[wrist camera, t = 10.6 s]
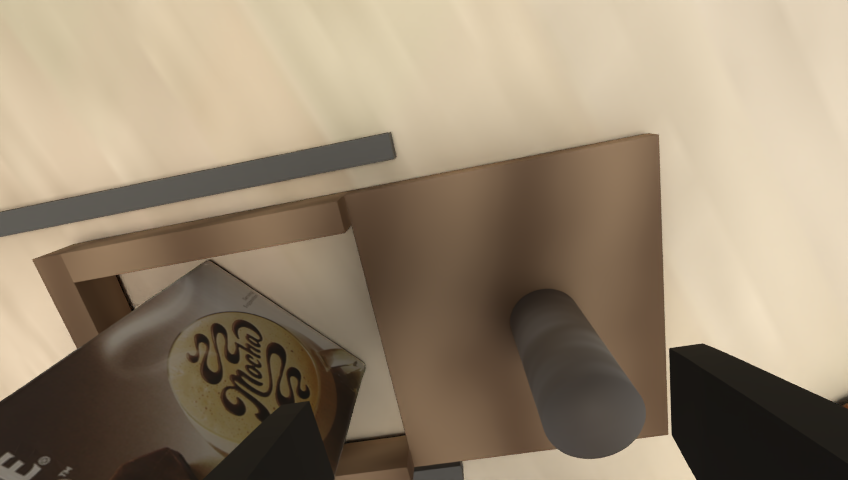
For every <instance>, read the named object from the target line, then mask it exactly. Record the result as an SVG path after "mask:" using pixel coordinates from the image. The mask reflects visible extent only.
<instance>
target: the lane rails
mask: <svg viewBox="0 0 848 480" xmlns="http://www.w3.org/2000/svg"><path fill="white" fill-rule="evenodd" d="M395 157H396V153H395V149H394V144H393V139H392V135H391V132H389V133H384V134H379V135H374V136H369V137H364V138H359V139H355V140H350V141H345V142H340V143H335V144H330V145H325V146H320V147H315V148H311V149H306V150H301V151H296V152H291V153H286V154H281V155H276V156H271V157H266V158H262V159H257V160H252V161H247V162H242V163H237V164H232V165H227V166H222V167H218V168H213V169H208V170H203V171H198V172H193V173H188V174H183V175H178V176H174V177H169V178H164V179H159V180H154V181H149V182H144V183H139V184H134V185H130V186H125V187H120V188H115V189H110V190H105V191H100V192H95V193H90V194H86V195H81V196H76V197H71V198H66V199H61V200H56V201H51V202H46V203H41V204H37V205H32V206H27V207H22V208H17V209H12V210H7V211H2V212H0V237H2V236H7V235H12V234H17V233H22V232H27V231H33V230H38V229H43V228H48V227H53V226H58V225H63V224H68V223H73V222H78V221H83V220H88V219H93V218H98V217H103V216H108V215H113V214H118V213H123V212H128V211H133V210H138V209H144V208H149V207H154V206H159V205H164V204H169V203H174V202H179V201H184V200H189V199H194V198H199V197H204V196H209V195H214V194H219V193H224V192H229V191H234V190H239V189H244V188H250V187H255V186H260V185H265V184H270V183H275V182H280V181H285V180H290V179H295V178H300V177H305V176H310V175H315V174H320V173H325V172H330V171H335V170H340V169H345V168H350V167H355V166H361V165H366V164H371V163H376V162H381V161H386V160H391V159H394V158H395ZM413 480H464V473H463V465H462V461H458V462H450V463H442V464H434V465H427V466H419V467H414V475H413Z"/></svg>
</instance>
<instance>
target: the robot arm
mask: <svg viewBox="0 0 848 480" xmlns="http://www.w3.org/2000/svg"><path fill="white" fill-rule="evenodd" d="M669 357H670V392H671V428H672V436H673V438H674V440H675V442H676V444H677V445H678V447H679V449H680V451H681V453H682V455H683V457H684V458H685V460H686V462H687V464H688V466H689V467H690V469H691V471H692V473H693V474H694V476H695V478H696V480H848V408H846V407H843V406H841V405H839V404H836V403H834V402H832V401H830V400H828V399H825V398H823V397H821V396H819V395H816V394H814V393H812V392H810V391H808V390H805V389H803V388H801V387H799V386H797V385H795V384H792V383H790V382H788V381H786V380H784V379H781V378H779V377H777V376H775V375H773V374H771V373H768V372H766V371H764V370H762V369H760V368H758V367H755V366H753V365H751V364H749V363H747V362H745V361H742V360H740V359H738V358H736V357H734V356H731V355H729V354H727V353H725V352H722V351H720V350H718V349H715V348H713V347H710V346H708V345H705V344H696V345H689V346H682V347H675V348H669ZM203 480H335V477H334V474H333V471H332V468H331V465H330V462H329V459H328V456H327V452H326V449H325V446H324V443H323V440H322V437H321V434H320V431H319V428H318V425H317V422H316V419H315V416H314V413H313V410H312V407H311V404H310V401H305V402H298V403H291V404H284V405H281V406H280V407H279V408H277V409H276V410H275V411H274V412H273V413H272V414H270V415H269V416H268V417H267V418H266V419H265V420H264V421H263V422H262V423H261V424H260V425H259V426H258V427H257V428H256V429H254V430H253V431H252V432H251V433H250V434H249V435H248V436H247V437H246V438H245V439H244V440H243V441H242V442H241V443H240V444H239V445H238V446H237V447H236V448H235V449H234V450H233V451H232V452H231V453H230V454H229V455H228V456H227V457H225V458H224V459H223V460H222V461H221V462H220V463H219V464H218V465H217V466H216V467H215V468H214V469H213V470H212V471H211V472H210V473H209V474H208V475H207V476H206V477H205V478H204V479H203Z"/></svg>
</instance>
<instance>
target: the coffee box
mask: <svg viewBox="0 0 848 480" xmlns="http://www.w3.org/2000/svg"><path fill="white" fill-rule="evenodd" d="M365 369H366V367H365V364H364V363H363V362H362V361H360V360H359V359H357V358H356V357H354V356H353V355H351V354H350V353H348V352H347V351H345V350H344V349H342V348H341V347H339V346H338V345H336V344H335V343H333V342H332V341H330V340H329V339H327V338H326V337H324V336H323V335H321V334H320V333H318V332H317V331H315V330H314V329H312V328H311V327H309V326H308V325H306V324H305V323H303V322H302V321H300V320H299V319H297V318H296V317H294V316H293V315H291V314H290V313H288V312H286V311H285V310H283V309H282V308H280V307H279V306H277V305H276V304H274V303H273V302H271V301H270V300H268V299H267V298H265V297H264V296H262V295H261V294H259V293H258V292H256V291H255V290H253V289H252V288H250V287H249V286H247V285H246V284H244V283H243V282H241V281H240V280H238V279H237V278H235V277H233V276H232V275H230V274H229V273H227V272H226V271H224V270H223V269H221V268H220V267H218V266H217V265H215V264H214V263H212V262H211V261H205V262H204V263H202V264H200V265H199V266H197V267H196V268H195V269H193V270H192V271H190V272H189V273H187V274H186V275H184V276H183V277H181V278H180V279H178V280H177V281H175V282H174V283H172V284H171V285H170V286H168V287H167V288H165V289H164V290H163V291H161V292H160V293H158V294H156V295H155V296H153V297H152V298H150V299H149V300H147V301H146V302H144V303H143V304H142V305H140V306H139V307H138V308H136V309H135V310H133V311H132V312H131V313H129V314H128V315H126V316H125V317H123V318H122V319H120V320H119V321H117V322H116V323H114V324H113V325H111V326H110V327H108V328H107V329H106V330H104V331H103V332H101V333H100V334H98V335H97V336H96V337H94V338H93V339H91V340H90V341H88V342H87V343H86V344H84V345H83V346H81V347H80V348H78V349H76V350H75V351H73V352H72V353H71V354H69V355H68V356H66V357H65V358H63V359H62V360H60V361H59V362H58V363H56V364H55V365H53V366H52V367H50V368H49V369H47V370H46V371H44V372H43V373H42V374H40V375H39V376H37V377H36V378H34V379H33V380H31V381H30V382H29V383H27V384H26V385H24V386H23V387H21V388H20V389H18V390H17V391H15V392H14V393H12V394H11V395H9V396H8V397H6V398H5V399H3V400H2V401H0V480H203V479H204V478H205V477H206V476H207V475H208V474H209V473H210V472H211V471H212V470H213V469H214V468H215V467H216V466H217V465H218V464H219V463H220V462H221V461H222V460H223V459H224V458H225V457H227V456H228V455H229V454H230V453H231V452H232V451H233V450H234V449H235V448H236V447H237V446H238V445H239V444H240V443H241V442H242V441H243V440H244V439H245V438H246V437H247V436H248V435H249V434H250V433H251V432H252V431H253V430H254V429H256V428H257V427H258V426H259V425H260V424H261V423H262V422H263V421H264V420H265V419H266V418H267V417H268V416H269V415H270V414H272V413H273V412H274V411H275V410H276V409H277V408H279V407H280V406H281V405H284V404H291V403H298V402H305V401H310V404H311V407H312V410H313V413H314V416H315V419H316V422H317V425H318V428H319V431H320V434H321V437H322V440H323V443H324V446H325V449H326V452H327V456H328V459H329V462H330V465H331V468H332V471H333V474H334V477H335V474H336V470H337V466H338V463H339V459H340V456H341V452H342V449H343V446H344V442H345V439H346V435H347V431H348V428H349V424H350V420H351V417H352V413H353V409H354V405H355V402H356V398H357V395H358V391H359V387H360V384H361V380H362V377H363V374H364V372H365Z"/></svg>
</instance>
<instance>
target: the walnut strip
mask: <svg viewBox="0 0 848 480" xmlns="http://www.w3.org/2000/svg"><path fill="white" fill-rule="evenodd" d="M351 225H352V229H353V232H354V236H355V240H356V244H357V248H358V252H359V256H360V260H361V263H362V267H363V271H364V275H365V279H366V283H367V287H368V291H369V294H370V298H371V302H372V306H373V310H374V314H375V318H376V322H377V325H378V329H379V333H380V337H381V341H382V345H383V349H384V353H385V356H386V360H387V364H388V368H389V372H390V376H391V380H392V384H393V387H394V391H395V395H396V399H397V403H398V407H399V411H400V415H401V418H402V422H403V426H404V430H405V434H406V436H399V437H391V438H384V439H376V440H369V441H362V442H354V443H347V444H344V446H343V449H342V452H341V456H340V459H339V463H338V466H337V470H336V474H335V480H413V475H414V467H419V466H427V465H434V464H442V463H450V462H458V461H466V460H474V459H481V458H489V457H497V456H505V455H513V454H521V453H529V452H536V451H544V450H552V449H558V450H560V451H561V452H563V453H565V454H567V455H570V456H573V457H577V458H583V459H596V458H603V457H607V456H610V455H613V454H615V453H618V452H619V451H621V450H623V449H625V448H626V447H628V446H629V445H630V444H631V443H632V442H633V441H634V440H635V439H639V438H646V437H654V436H662V435H668V412H667V380H666V348H665V316H664V284H663V252H662V220H661V188H660V156H659V135H658V134H650V133H648V134H643V135H638V136H632V137H627V138H622V139H617V140H612V141H606V142H601V143H596V144H591V145H586V146H580V147H575V148H570V149H565V150H560V151H555V152H549V153H544V154H539V155H534V156H529V157H523V158H518V159H513V160H508V161H503V162H497V163H492V164H487V165H482V166H477V167H472V168H466V169H461V170H456V171H451V172H446V173H440V174H435V175H430V176H425V177H420V178H415V179H409V180H404V181H399V182H394V183H389V184H383V185H378V186H373V187H368V188H363V189H357V190H352V191H347V192H342V193H337V194H332V195H326V196H321V197H316V198H311V199H306V200H300V201H295V202H290V203H285V204H280V205H274V206H269V207H264V208H259V209H254V210H249V211H243V212H238V213H233V214H228V215H223V216H217V217H212V218H207V219H202V220H197V221H191V222H186V223H181V224H176V225H171V226H166V227H160V228H155V229H150V230H145V231H140V232H134V233H129V234H124V235H119V236H114V237H109V238H103V239H98V240H93V241H88V242H83V243H77V244H73V245H70V246H68V247H65V248H62V249H60V250H57V251H54V252H51V253H49V254H46V255H43V256H41V257H38V258H35V259H33V262H34V264H35V266H36V268H37V270H38V272H39V274H40V276H41V278H42V280H43V282H44V284H45V286H46V288H47V290H48V292H49V294H50V296H51V298H52V300H53V302H54V304H55V306H56V308H57V310H58V312H59V314H60V316H61V317H62V319H63V321H64V323H65V325H66V327H67V329H68V331H69V333H70V335H71V337H72V339H73V341H74V343H75V345H76V347H77V349H78V348H80V347H81V346H83V345H84V344H86V343H87V342H88V341H90V340H91V339H93V338H94V337H96V336H97V335H98V334H100V333H101V332H103V331H104V330H106V329H107V328H108V327H110V326H111V325H113V324H114V323H116V322H117V321H119V320H120V319H122V318H123V317H125V316H126V315H128V314H129V313H131V312H132V311H131V309H130V307H129V305H128V302H127V300H126V298H125V296H124V293H123V291H122V289H121V287H120V284H119V282H118V280H117V278H116V276H115V275H118V274H124V273H129V272H135V271H140V270H146V269H151V268H157V267H162V266H167V265H173V264H178V263H184V262H189V261H195V260H200V259H206V258H211V257H217V256H222V255H227V254H233V253H238V252H244V251H249V250H255V249H260V248H266V247H271V246H277V245H282V244H287V243H293V242H298V241H304V240H309V239H315V238H320V237H326V236H331V235H337V234H342V233H345V232H346V231H347V230H348V229H349V227H350V226H351Z"/></svg>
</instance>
